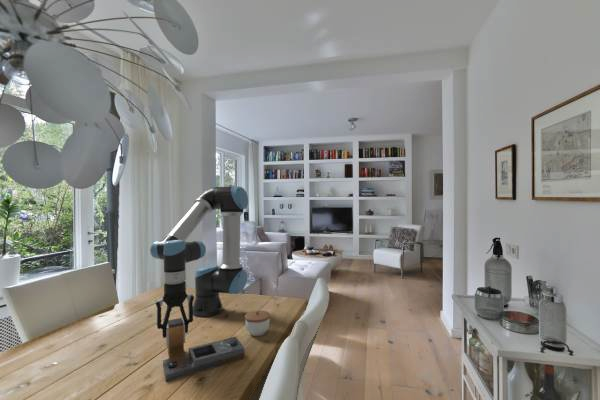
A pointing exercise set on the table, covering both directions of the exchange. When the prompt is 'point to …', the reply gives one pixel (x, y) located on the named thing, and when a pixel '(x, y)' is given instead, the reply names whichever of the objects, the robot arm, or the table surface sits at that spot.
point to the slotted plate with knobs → (204, 358)
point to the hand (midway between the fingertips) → (175, 343)
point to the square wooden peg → (176, 337)
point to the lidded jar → (257, 322)
